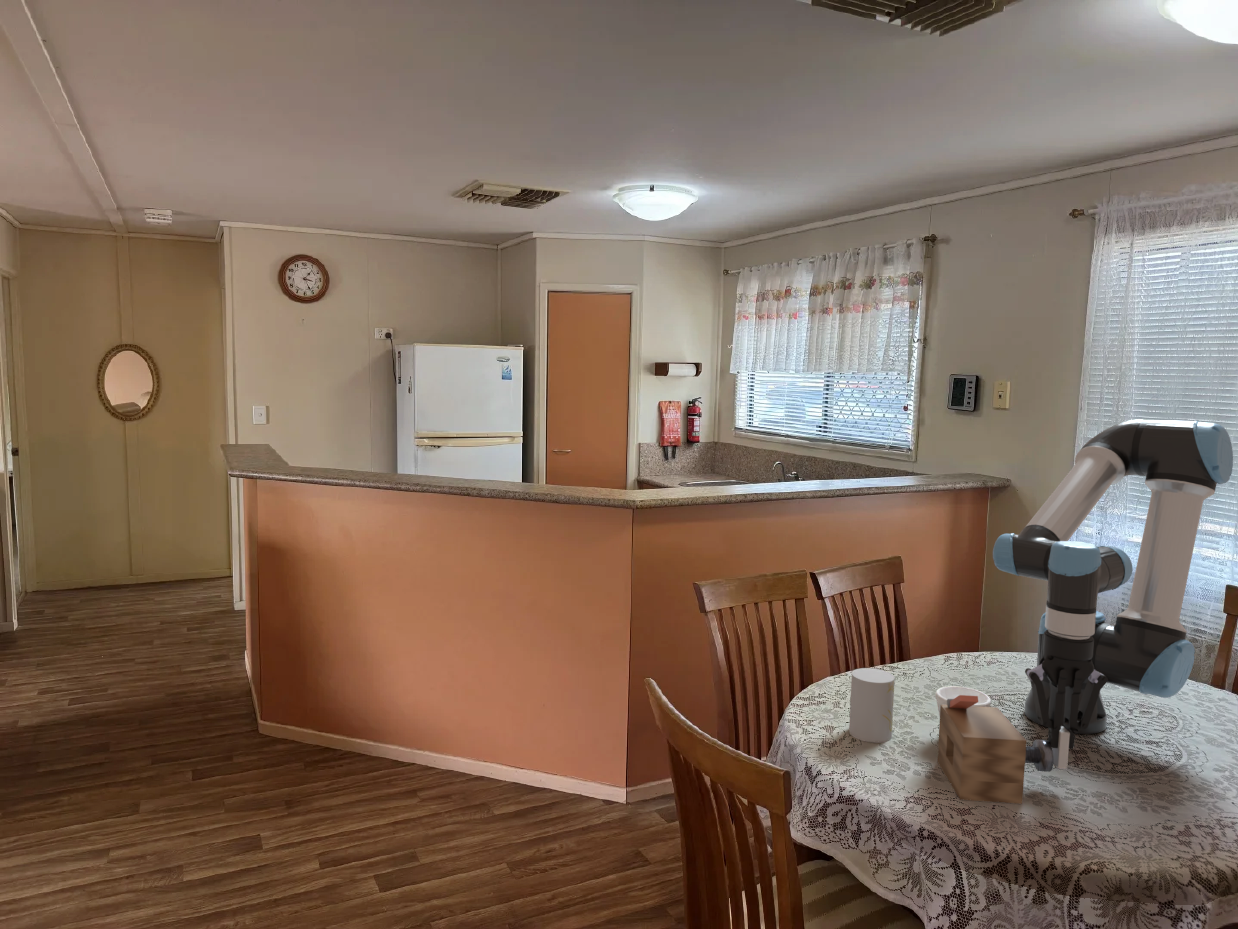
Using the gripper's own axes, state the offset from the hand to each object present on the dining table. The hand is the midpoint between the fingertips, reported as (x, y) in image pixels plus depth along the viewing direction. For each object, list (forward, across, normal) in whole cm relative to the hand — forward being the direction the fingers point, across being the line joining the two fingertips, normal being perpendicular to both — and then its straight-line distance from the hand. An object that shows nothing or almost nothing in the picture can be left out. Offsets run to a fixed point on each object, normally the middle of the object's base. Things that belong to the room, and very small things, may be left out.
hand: (1059, 765), depth 144 cm
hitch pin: (+1, +9, 0) cm, 9 cm away
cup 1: (+4, +28, -18) cm, 34 cm away
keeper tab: (-9, +16, -3) cm, 18 cm away
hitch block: (+4, +13, 0) cm, 14 cm away
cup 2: (+4, +11, -17) cm, 21 cm away
